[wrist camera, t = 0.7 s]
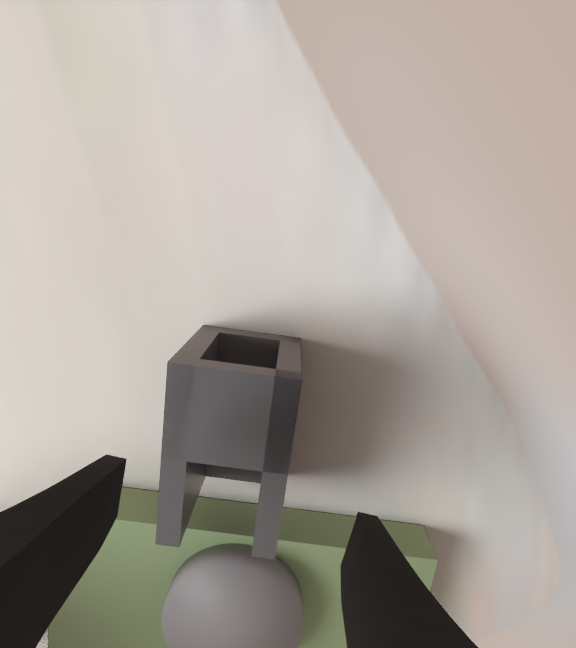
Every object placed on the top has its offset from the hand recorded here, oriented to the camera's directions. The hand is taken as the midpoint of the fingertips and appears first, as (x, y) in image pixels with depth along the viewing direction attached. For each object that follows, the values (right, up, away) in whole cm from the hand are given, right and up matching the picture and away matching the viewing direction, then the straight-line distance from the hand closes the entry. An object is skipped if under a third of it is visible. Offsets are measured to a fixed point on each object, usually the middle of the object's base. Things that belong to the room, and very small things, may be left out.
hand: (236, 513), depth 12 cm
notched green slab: (-2, -11, +12) cm, 17 cm away
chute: (-1, +1, +10) cm, 10 cm away
